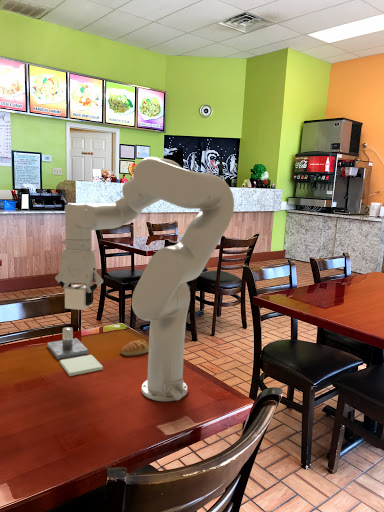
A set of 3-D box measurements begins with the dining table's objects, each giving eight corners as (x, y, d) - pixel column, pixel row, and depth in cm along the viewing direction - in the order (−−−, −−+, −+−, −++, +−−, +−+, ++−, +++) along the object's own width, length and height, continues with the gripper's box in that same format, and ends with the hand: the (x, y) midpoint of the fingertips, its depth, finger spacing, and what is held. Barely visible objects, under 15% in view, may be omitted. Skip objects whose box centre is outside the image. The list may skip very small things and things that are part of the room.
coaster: (102, 369, 123) (102, 366, 122) (69, 376, 117) (69, 372, 117) (91, 357, 131) (91, 354, 131) (59, 363, 125) (59, 360, 125)
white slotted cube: (83, 310, 121) (83, 289, 120) (64, 308, 122) (64, 287, 121) (92, 305, 126) (92, 285, 126) (74, 303, 128) (74, 283, 127)
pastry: (127, 359, 132) (127, 348, 131) (115, 352, 136) (115, 342, 136) (150, 352, 138) (150, 341, 138) (138, 346, 143) (138, 336, 142)
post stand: (88, 354, 133) (88, 332, 132) (57, 359, 128) (57, 336, 127) (76, 342, 143) (77, 321, 142) (47, 346, 138) (47, 325, 137)
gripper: (45, 244, 120) (46, 304, 122) (99, 247, 116) (99, 309, 119) (59, 242, 127) (60, 298, 130) (110, 245, 123) (110, 303, 126)
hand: (79, 303), depth 124 cm, fingers closed on white slotted cube, 5 cm apart
